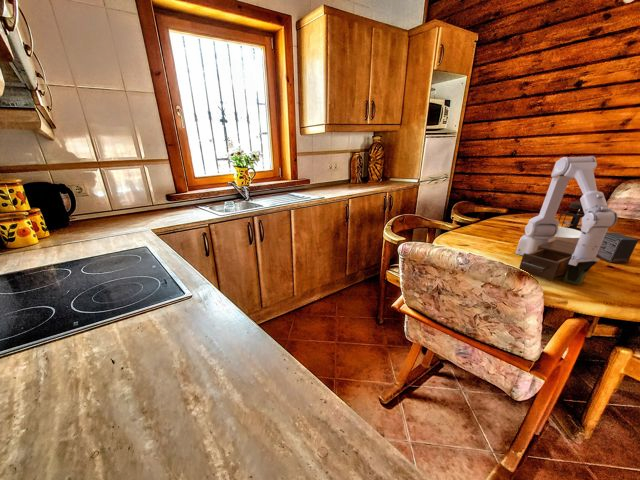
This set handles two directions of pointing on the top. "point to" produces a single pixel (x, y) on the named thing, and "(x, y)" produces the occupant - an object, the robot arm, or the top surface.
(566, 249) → the cabinet
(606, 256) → the small box
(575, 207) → the french press
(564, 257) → the drawer
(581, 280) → the block
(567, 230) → the serving bowl
